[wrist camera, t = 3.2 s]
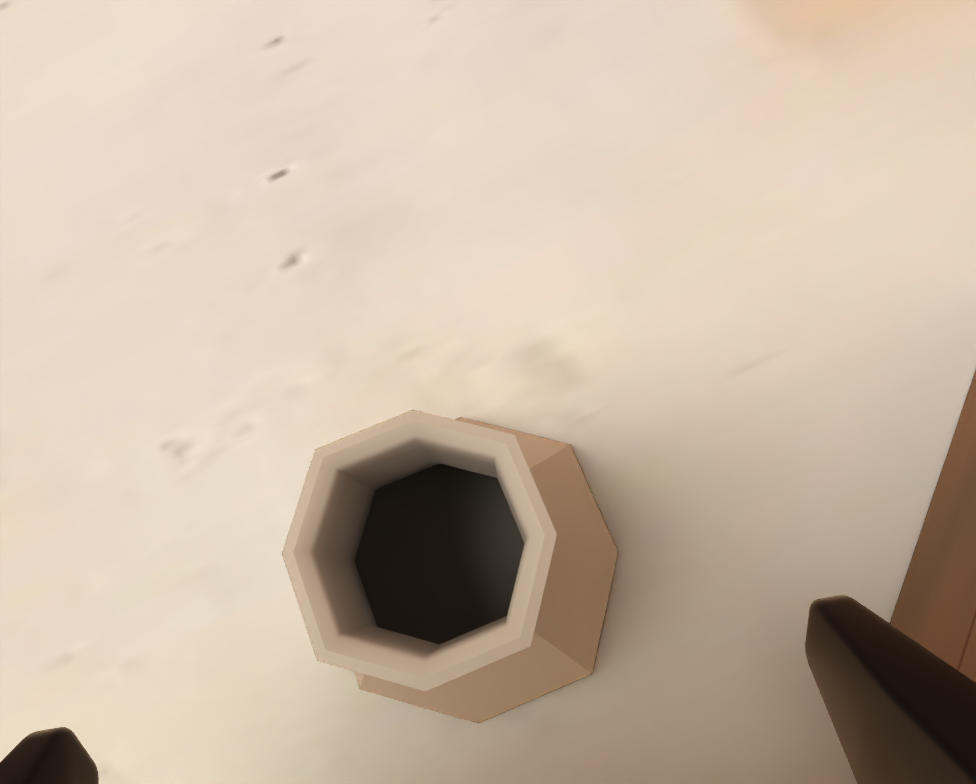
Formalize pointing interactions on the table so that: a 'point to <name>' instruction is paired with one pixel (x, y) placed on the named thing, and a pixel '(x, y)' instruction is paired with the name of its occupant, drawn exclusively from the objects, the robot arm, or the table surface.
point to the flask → (451, 563)
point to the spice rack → (947, 559)
